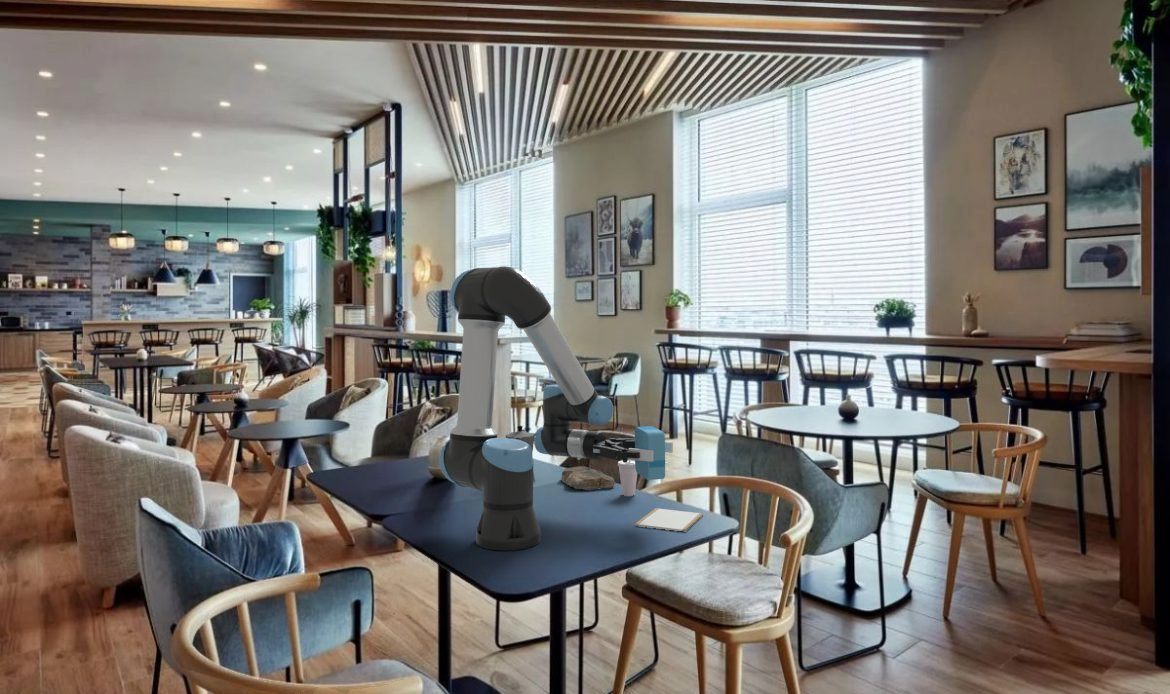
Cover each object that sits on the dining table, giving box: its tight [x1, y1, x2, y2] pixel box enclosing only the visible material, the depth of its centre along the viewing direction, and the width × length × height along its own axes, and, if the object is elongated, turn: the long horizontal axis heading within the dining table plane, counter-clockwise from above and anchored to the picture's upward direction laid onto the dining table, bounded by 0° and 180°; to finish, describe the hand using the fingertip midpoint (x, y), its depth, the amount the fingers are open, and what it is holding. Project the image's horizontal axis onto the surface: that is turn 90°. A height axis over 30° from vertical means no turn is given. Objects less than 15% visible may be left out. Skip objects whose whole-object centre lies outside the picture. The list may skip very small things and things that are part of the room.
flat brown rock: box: [560, 465, 616, 491], centre depth 228 cm, size 14×5×20 cm
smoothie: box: [617, 459, 638, 497], centre depth 212 cm, size 6×6×14 cm
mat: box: [634, 507, 704, 532], centre depth 185 cm, size 16×13×1 cm
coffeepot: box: [505, 425, 536, 483], centre depth 231 cm, size 15×9×18 cm, turn 177°
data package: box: [634, 425, 666, 481], centre depth 185 cm, size 12×4×12 cm, turn 12°
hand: (662, 451), depth 183 cm, fingers closed on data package, 12 cm apart
